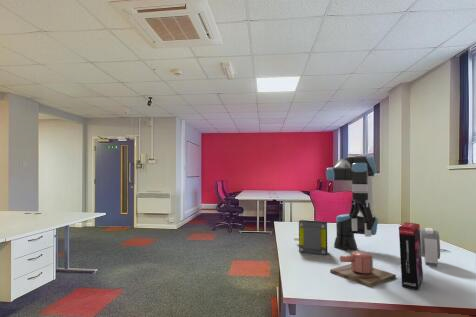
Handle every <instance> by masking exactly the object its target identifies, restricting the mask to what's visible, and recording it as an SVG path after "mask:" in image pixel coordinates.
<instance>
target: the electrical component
mask: <svg viewBox="0 0 476 317" xmlns="http://www.w3.org/2000/svg"><path fill="white" fill-rule="evenodd" d="M298 252H299V253H306V254H307V253H308V254H317V255H324V256H325V255H326V256H327V255H328V221H322V220H321V221H320V220H305V219H301V220H298Z"/></svg>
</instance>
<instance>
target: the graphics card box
mask: <svg viewBox="0 0 476 317" xmlns="http://www.w3.org/2000/svg"><path fill="white" fill-rule="evenodd" d="M420 230H421V226H420V224H419V223H416V222H407V221H406V222H404V223H402V224H401V225H400V226H398V234H399V235H398V236H399V240H398V241H399V253H400V254H399V255H400V256H399V257H400V273H401V276H400V277H401V287H403V288H408V289H412V290H417V291H418V290H419V288H420V286H421V284H422V282H423V280H424V275H423V274H424V272H423V257H422V255H421V239H420Z"/></svg>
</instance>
